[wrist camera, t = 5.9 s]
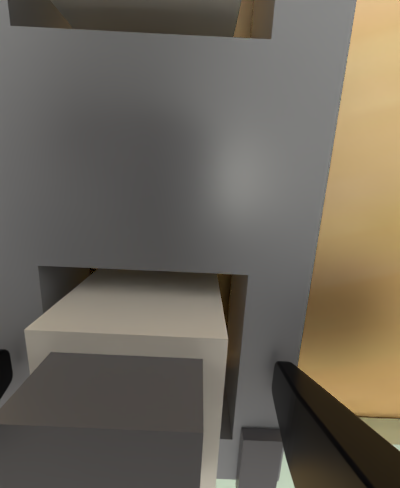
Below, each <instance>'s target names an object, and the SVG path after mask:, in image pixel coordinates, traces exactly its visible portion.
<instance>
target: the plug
mask: <svg viewBox="0 0 400 488" xmlns="http://www.w3.org/2000/svg"><path fill="white" fill-rule="evenodd" d="M24 333H25V341H26V348H27V356H28V363H29V371H30V376H29V377H28V378H27V379H26V380H25V381H24V383H23V384H22V385H21V386H20V387H19V388H18V389H17V390H16V391H15V393H14V394H13V395H12V396H11V397H10V398H9V399H8V400H7V402H6V403H5V404H4V405H3V406H2V407H1V408H0V488H216V477H217V465H218V453H219V442H220V430H221V418H222V407H223V395H224V383H225V371H226V360H227V348H228V335H227V329H226V323H225V317H224V312H223V306H222V300H221V294H220V289H219V283H218V277H217V274H215V273H193V272H170V271H147V270H125V269H102V268H98V269H97V270H96V271H95V272H93V273H92V274H91V275H90V276H89V277H87V278H86V279H85V280H84V281H83V282H81V283H80V284H79V285H78V286H77V287H75V288H74V289H73V290H72V291H70V292H69V293H68V294H67V295H66V296H64V297H63V298H62V299H61V300H60V301H58V302H57V303H56V304H55V305H53V306H52V307H51V308H50V309H49V310H47V311H46V312H45V313H44V314H43V315H41V316H40V317H39V318H38V319H37V320H35V321H34V322H33V323H32V324H30V325H29V326H28V327H27V328H26V329H24Z"/></svg>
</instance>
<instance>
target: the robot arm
mask: <svg viewBox="0 0 400 488" xmlns="http://www.w3.org/2000/svg"><path fill="white" fill-rule="evenodd" d="M12 378H13V370H12V363H11V357H10V353H9V351H8V350H6V349H0V399H1V398H2V396H3V395H4V393H5V391H6V390H7V388H8V387H9V385H10V383H11V381H12ZM272 396H273V401H274V406H275V410H276V415H277V420H278V424H279V429H280V434H281V439H282V443H283V448H284V452H285V457H286V460H287V464H288V467H289V471H290V474H291V477H292V480H293V484H294V487H295V488H400V451H399V450H398V449H397V448H396V447H394V446H393V445H392V444H391V443H389V442H388V441H387V440H386V439H385V438H383V437H382V436H381V435H380V434H378V433H377V432H376V431H375V430H374V429H372V428H371V427H370V426H369V425H367V424H366V423H365V422H364V421H363V420H361V419H360V418H359V417H358V416H356V415H355V414H354V413H353V412H352V411H350V410H349V409H348V408H347V407H345V406H344V405H343V404H342V403H341V402H339V401H338V400H337V399H336V398H335V397H333V396H332V395H331V394H330V393H328V392H327V391H326V390H325V389H324V388H322V387H321V386H320V385H319V384H317V383H316V382H315V381H314V380H313V379H311V378H310V377H309V376H308V375H306V374H305V373H304V372H303V371H302V370H300V369H299V368H298V367H297V366H295V365H294V364H293V363H292V362H289V361H277V362H276V363H275V365H274V372H273V379H272Z"/></svg>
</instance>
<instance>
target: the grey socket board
mask: <svg viewBox="0 0 400 488" xmlns="http://www.w3.org/2000/svg"><path fill="white" fill-rule="evenodd" d="M356 1H357V0H254V2H253V14H252V27H251V38H235V37H216V36H197V35H178V34H158V33H139V32H120V31H101V30H82V29H73V28H72V26H71V25H70V24H69V23H68V21H67V20H66V19H65V18H64V17H63V15H62V14H61V13H60V12H59V10H58V9H57V8H56V7H55V6H54V4H53V3H52V2H51V1H50V0H0V349H6V350H8V351H9V353H10V357H11V363H12V370H13V378H12V381H11V383H10V385H9V387H8V388H7V390H6V391H5V393H4V395H3V396H2V398H1V399H0V408H1V407H2V406H3V405H4V404H5V403H6V402H7V400H8V399H9V398H10V397H11V396H12V395H13V394H14V393H15V391H16V390H17V389H18V388H19V387H20V386H21V385H22V384H23V383H24V381H25V380H26V379H27V378H28V377H29V376H30V371H29V363H28V356H27V348H26V341H25V333H24V329H26V328H27V327H28V326H29V325H30V324H32V323H33V322H34V321H35V320H37V319H38V318H39V317H40V316H41V315H43V314H44V313H45V312H46V311H47V310H49V309H50V308H51V307H52V306H53V305H55V304H56V303H57V302H58V301H60V300H61V299H62V298H63V297H64V296H66V295H67V294H68V293H69V292H70V291H72V290H73V289H74V288H75V287H77V286H78V285H79V284H80V283H81V282H83V281H84V280H85V279H86V278H87V277H89V276H90V268H102V269H125V270H147V271H170V272H193V273H215V274H232V276H231V288H230V300H229V313H228V325H227V335H228V348H227V360H226V371H225V383H224V395H223V407H222V418H221V430H220V442H219V453H218V465H217V477H216V479H232V480H236V483H235V485H236V488H276V485H277V481H279V477H280V471H281V465H282V459H283V452H284V448H283V443H282V439H281V434H280V429H279V424H278V420H277V415H276V410H275V406H274V401H273V396H272V379H273V372H274V365H275V363H276V362H277V361H289V362H292V363H293V364H294V365H295V366H298V360H299V353H300V347H301V341H302V335H303V329H304V322H305V316H306V310H307V304H308V298H309V292H310V285H311V279H312V273H313V267H314V261H315V254H316V248H317V242H318V236H319V230H320V223H321V217H322V211H323V205H324V199H325V193H326V186H327V180H328V174H329V168H330V162H331V155H332V149H333V143H334V137H335V131H336V124H337V118H338V112H339V106H340V100H341V94H342V87H343V81H344V75H345V69H346V63H347V56H348V50H349V44H350V38H351V32H352V25H353V19H354V13H355V7H356Z"/></svg>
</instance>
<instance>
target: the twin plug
mask: <svg viewBox="0 0 400 488" xmlns="http://www.w3.org/2000/svg"><path fill="white" fill-rule="evenodd" d="M50 1H51V2H52V3H53V4H54V6H55V7H56V8H57V9H58V10H59V12H60V13H61V14H62V15H63V17H64V18H65V19H66V20H67V21H68V23H69V24H70V25H71V26H72V28H73V29H82V30H101V31H120V32H139V33H158V34H178V35H197V36H216V37H233V36H234V31H235V27H236V22H237V18H238V13H239V9H240V4H241V0H50Z"/></svg>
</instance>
